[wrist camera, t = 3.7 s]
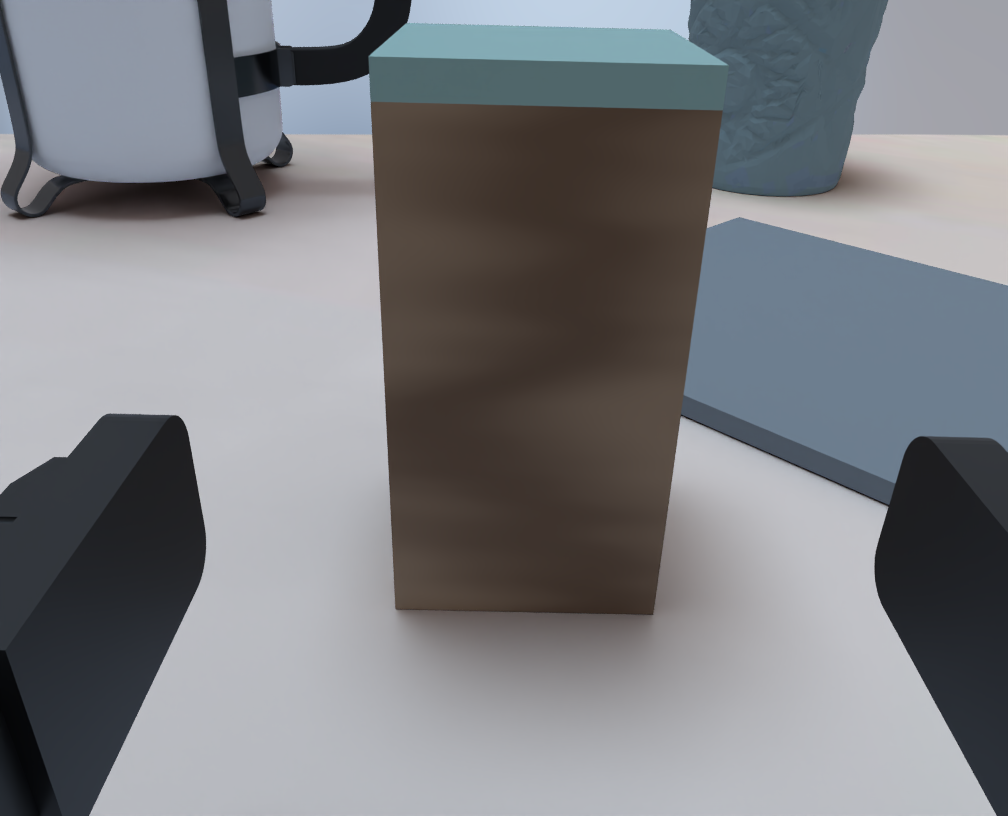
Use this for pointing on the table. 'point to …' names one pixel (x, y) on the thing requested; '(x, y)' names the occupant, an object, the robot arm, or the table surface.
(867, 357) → the mat
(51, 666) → the robot arm
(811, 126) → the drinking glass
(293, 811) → the table surface
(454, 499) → the walnut block
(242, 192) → the coffee press
